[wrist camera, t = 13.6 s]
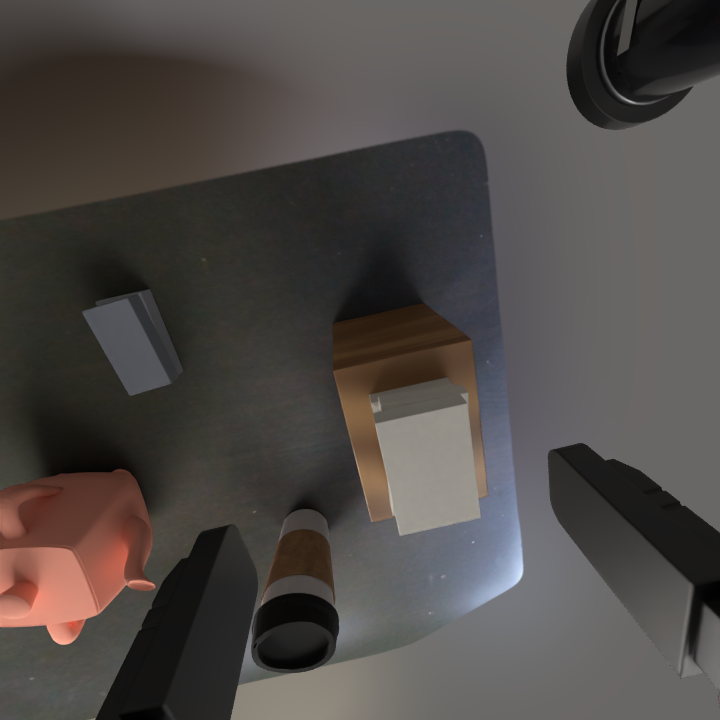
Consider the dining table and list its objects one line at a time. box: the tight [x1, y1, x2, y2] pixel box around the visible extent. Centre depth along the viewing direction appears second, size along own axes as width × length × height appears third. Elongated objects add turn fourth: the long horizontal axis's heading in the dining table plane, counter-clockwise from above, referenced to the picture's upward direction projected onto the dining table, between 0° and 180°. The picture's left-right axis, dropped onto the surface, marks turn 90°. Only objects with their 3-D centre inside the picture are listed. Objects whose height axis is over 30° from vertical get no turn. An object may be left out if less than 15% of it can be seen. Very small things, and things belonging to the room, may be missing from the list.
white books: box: [369, 377, 469, 516], centre depth 26 cm, size 10×7×3 cm
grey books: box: [82, 289, 183, 396], centre depth 35 cm, size 9×5×4 cm, turn 12°
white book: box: [373, 394, 481, 536], centre depth 24 cm, size 9×6×1 cm, turn 12°
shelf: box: [333, 303, 488, 522], centre depth 34 cm, size 14×10×14 cm
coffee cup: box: [251, 509, 339, 673], centre depth 40 cm, size 8×8×15 cm
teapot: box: [0, 469, 155, 645], centre depth 37 cm, size 17×16×13 cm
